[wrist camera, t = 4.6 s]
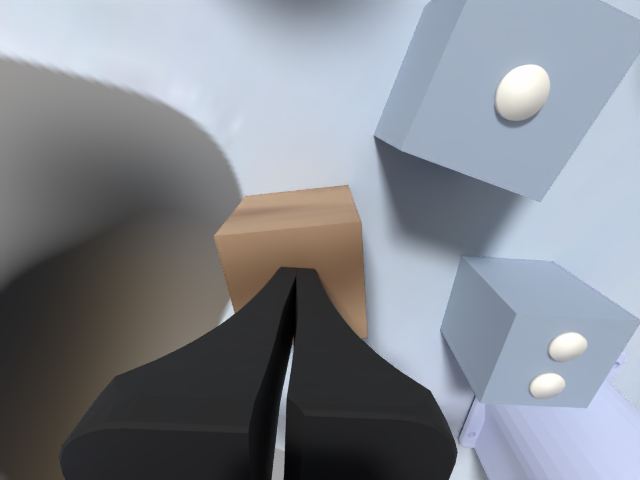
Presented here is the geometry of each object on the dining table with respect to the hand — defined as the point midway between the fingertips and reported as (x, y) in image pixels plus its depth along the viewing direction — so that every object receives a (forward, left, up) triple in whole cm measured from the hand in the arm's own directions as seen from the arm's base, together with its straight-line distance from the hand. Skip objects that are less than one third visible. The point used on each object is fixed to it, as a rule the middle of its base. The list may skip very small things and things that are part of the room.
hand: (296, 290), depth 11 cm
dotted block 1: (+7, -6, -5) cm, 10 cm away
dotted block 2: (-3, -11, -5) cm, 12 cm away
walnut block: (0, 0, -5) cm, 5 cm away
